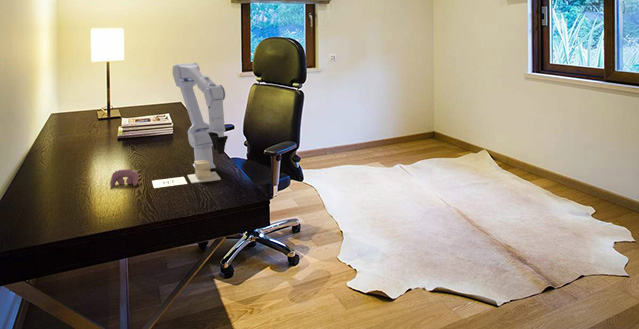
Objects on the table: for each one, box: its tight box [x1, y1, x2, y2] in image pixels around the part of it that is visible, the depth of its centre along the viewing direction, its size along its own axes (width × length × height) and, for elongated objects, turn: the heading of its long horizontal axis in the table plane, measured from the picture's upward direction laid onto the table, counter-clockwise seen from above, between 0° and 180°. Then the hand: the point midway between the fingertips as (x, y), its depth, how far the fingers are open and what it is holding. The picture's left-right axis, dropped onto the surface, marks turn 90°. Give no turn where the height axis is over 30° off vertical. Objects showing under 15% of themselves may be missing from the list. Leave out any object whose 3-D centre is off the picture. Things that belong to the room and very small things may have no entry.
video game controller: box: [109, 168, 140, 188], centre depth 189 cm, size 10×5×7 cm, turn 93°
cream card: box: [151, 176, 188, 189], centre depth 191 cm, size 10×12×1 cm
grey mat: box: [186, 171, 222, 184], centre depth 195 cm, size 11×11×1 cm
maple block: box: [193, 160, 211, 179], centre depth 194 cm, size 5×5×6 cm
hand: (219, 151), depth 197 cm, fingers open, 7 cm apart
